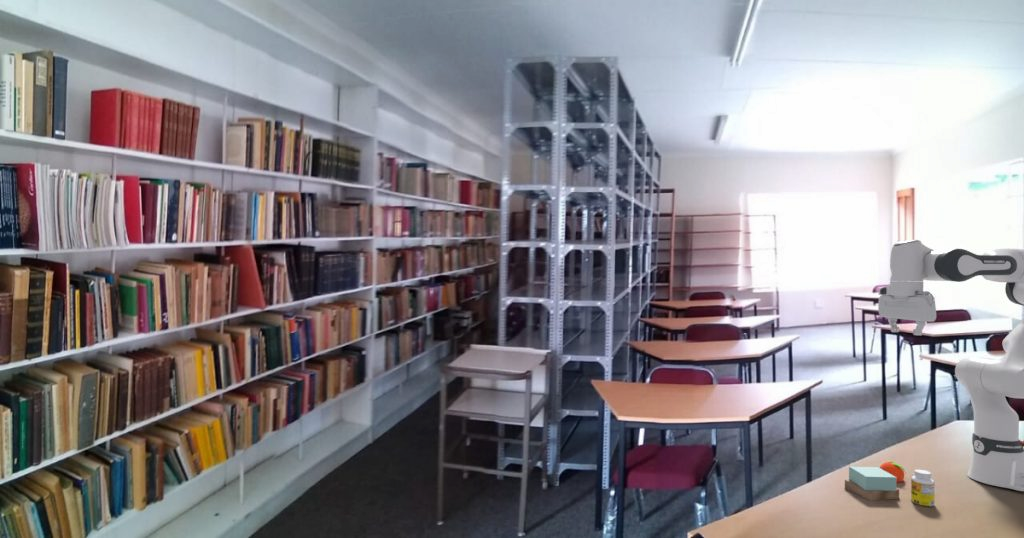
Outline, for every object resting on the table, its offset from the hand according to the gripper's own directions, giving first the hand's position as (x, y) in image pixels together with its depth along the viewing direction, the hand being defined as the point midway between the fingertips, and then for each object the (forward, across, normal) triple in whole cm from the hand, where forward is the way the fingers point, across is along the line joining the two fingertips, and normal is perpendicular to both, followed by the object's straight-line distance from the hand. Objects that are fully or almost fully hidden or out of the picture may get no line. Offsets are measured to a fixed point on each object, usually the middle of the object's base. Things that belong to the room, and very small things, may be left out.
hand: (906, 333), depth 182 cm
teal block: (+46, -6, +15) cm, 49 cm away
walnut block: (+50, -5, +15) cm, 53 cm away
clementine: (+50, +4, +1) cm, 50 cm away
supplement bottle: (+50, -14, +6) cm, 52 cm away
